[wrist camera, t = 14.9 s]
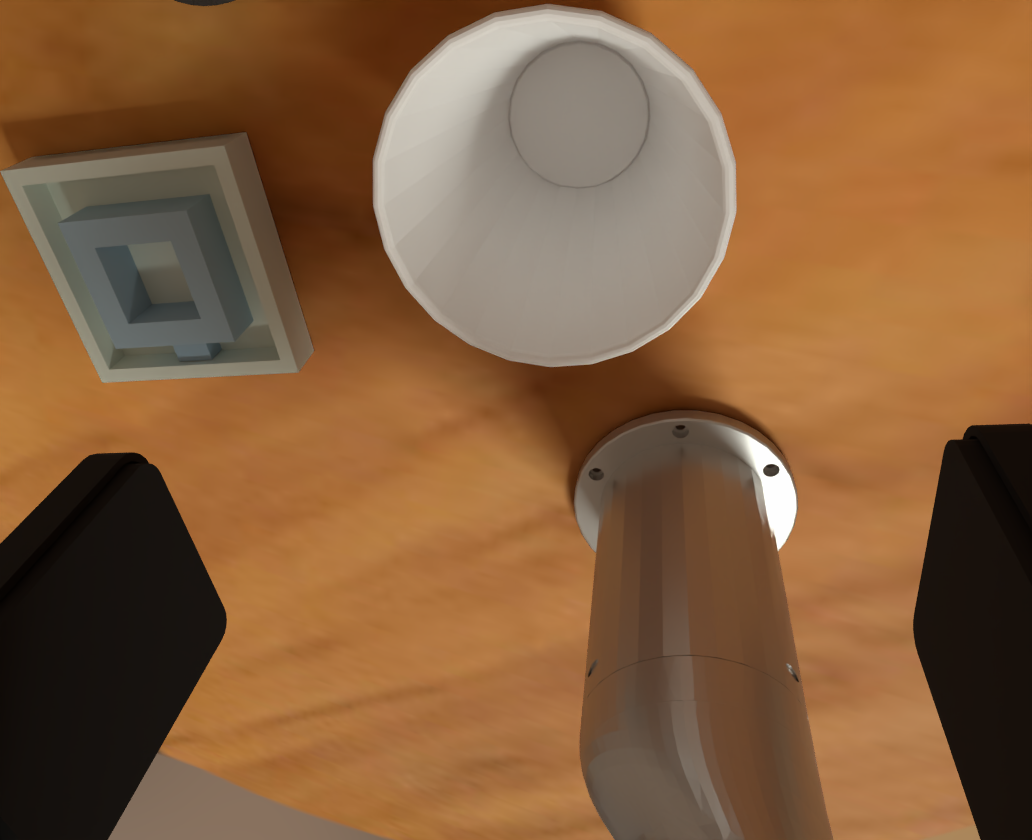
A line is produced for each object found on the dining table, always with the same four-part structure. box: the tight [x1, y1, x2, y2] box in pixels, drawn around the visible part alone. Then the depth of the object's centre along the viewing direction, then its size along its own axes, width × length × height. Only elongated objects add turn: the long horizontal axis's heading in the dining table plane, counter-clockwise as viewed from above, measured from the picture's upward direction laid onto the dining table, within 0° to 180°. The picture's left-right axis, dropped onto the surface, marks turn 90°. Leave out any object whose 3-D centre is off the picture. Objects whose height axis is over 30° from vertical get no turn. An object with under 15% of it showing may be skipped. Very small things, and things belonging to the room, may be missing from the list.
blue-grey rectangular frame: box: [58, 194, 254, 362], centre depth 42 cm, size 7×9×2 cm
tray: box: [0, 132, 314, 383], centre depth 42 cm, size 12×12×2 cm
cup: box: [373, 4, 736, 367], centre depth 31 cm, size 12×12×12 cm
